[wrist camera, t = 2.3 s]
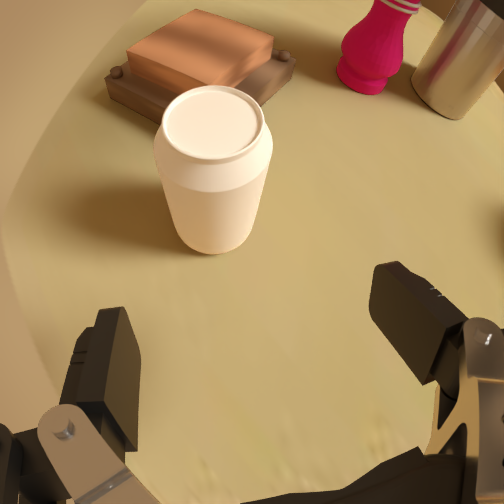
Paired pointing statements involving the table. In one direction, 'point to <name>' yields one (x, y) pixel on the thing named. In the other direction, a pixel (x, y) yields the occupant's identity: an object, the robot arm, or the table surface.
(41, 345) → the table surface
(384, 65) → the pepper mill
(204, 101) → the beverage can
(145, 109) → the brick plinth
